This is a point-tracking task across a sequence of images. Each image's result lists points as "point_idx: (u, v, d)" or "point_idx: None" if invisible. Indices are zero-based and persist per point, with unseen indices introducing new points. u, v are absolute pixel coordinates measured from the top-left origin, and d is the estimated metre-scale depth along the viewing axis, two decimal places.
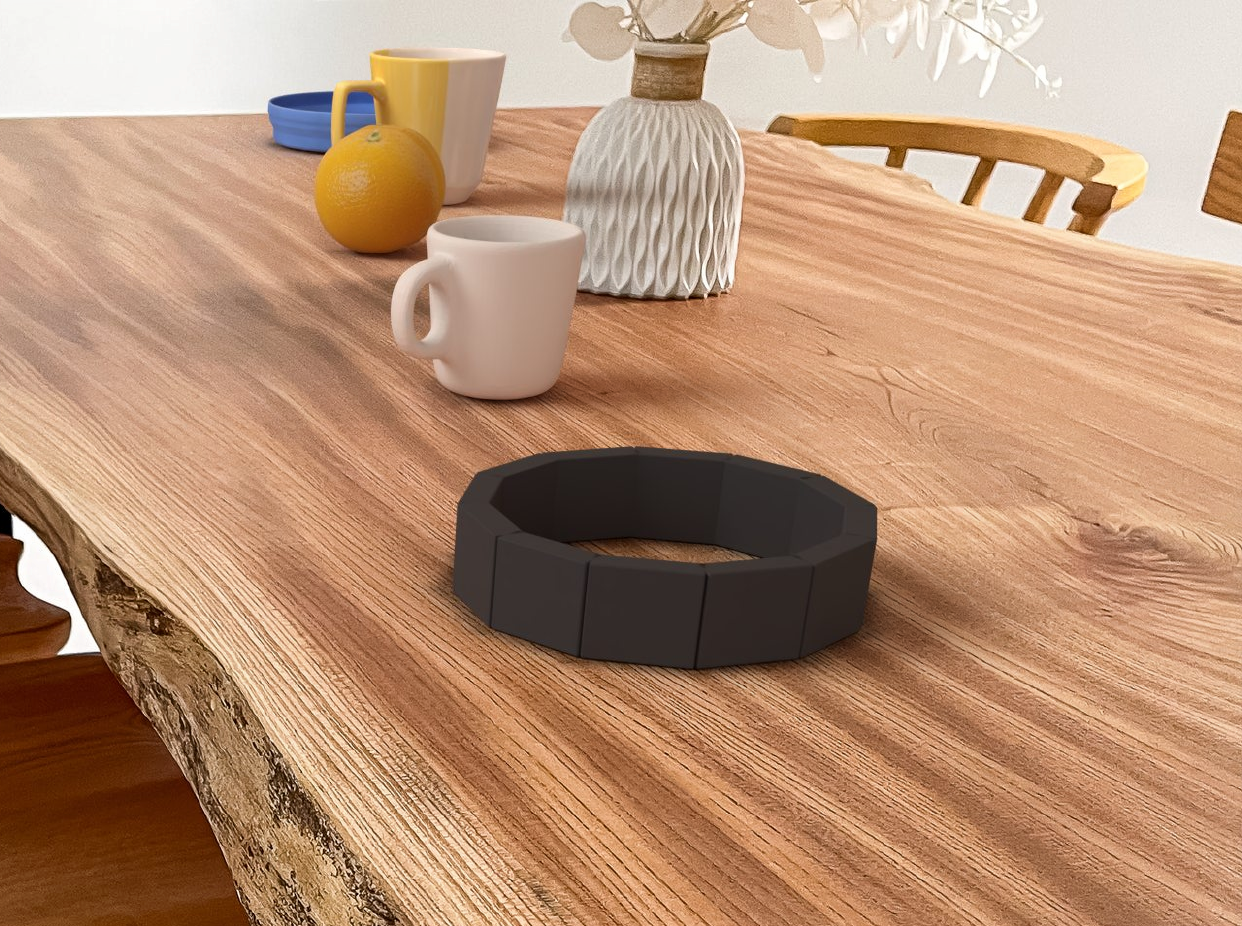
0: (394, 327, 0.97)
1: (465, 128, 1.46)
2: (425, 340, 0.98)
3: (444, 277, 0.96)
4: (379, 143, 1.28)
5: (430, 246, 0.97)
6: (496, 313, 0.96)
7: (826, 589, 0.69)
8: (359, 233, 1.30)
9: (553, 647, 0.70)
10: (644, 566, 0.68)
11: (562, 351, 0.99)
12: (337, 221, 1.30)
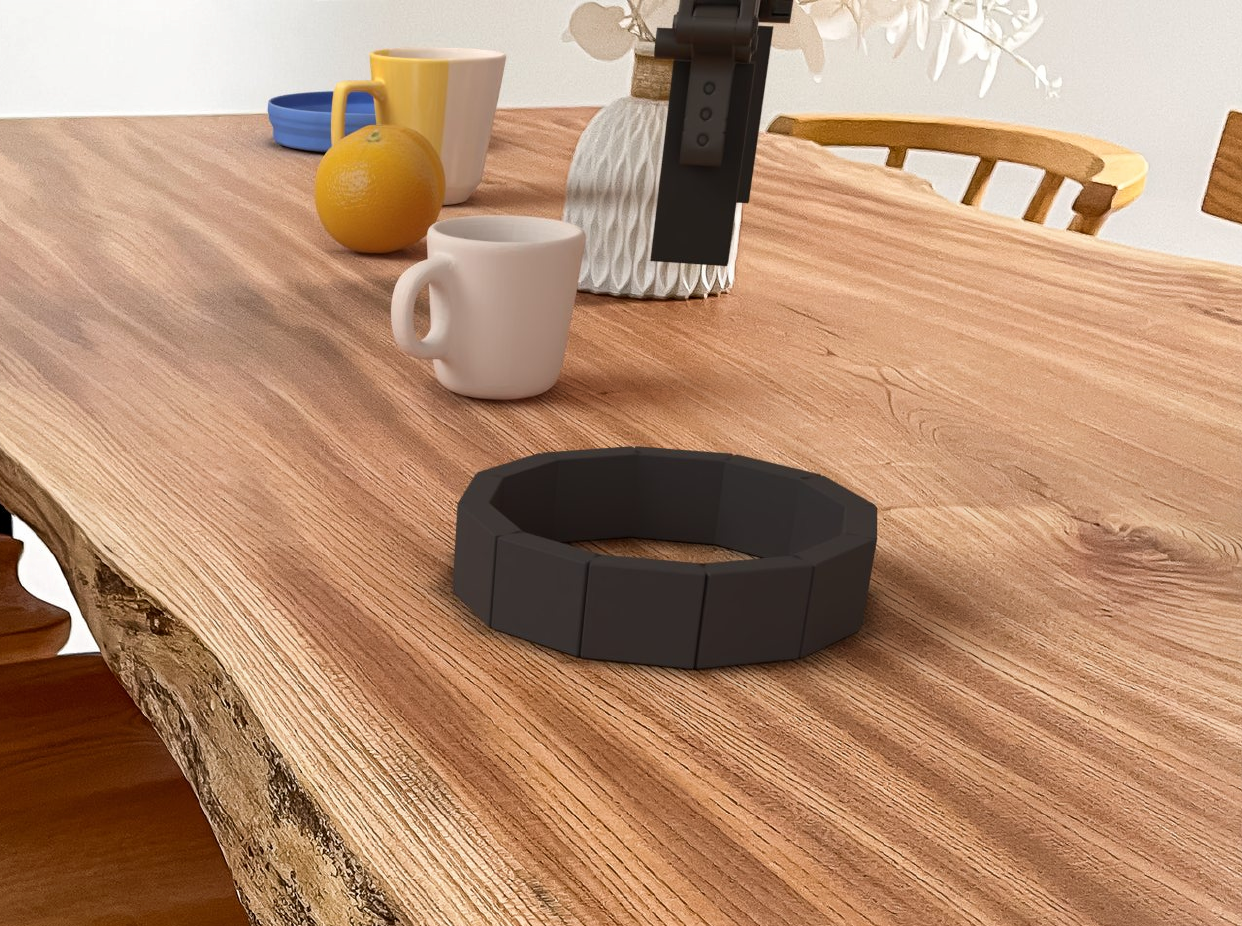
0: (394, 327, 0.97)
1: (465, 128, 1.46)
2: (425, 340, 0.98)
3: (444, 277, 0.96)
4: (379, 143, 1.28)
5: (430, 246, 0.97)
6: (496, 313, 0.96)
7: (826, 589, 0.69)
8: (359, 233, 1.30)
9: (553, 647, 0.70)
10: (644, 566, 0.68)
11: (562, 351, 0.99)
12: (337, 221, 1.30)
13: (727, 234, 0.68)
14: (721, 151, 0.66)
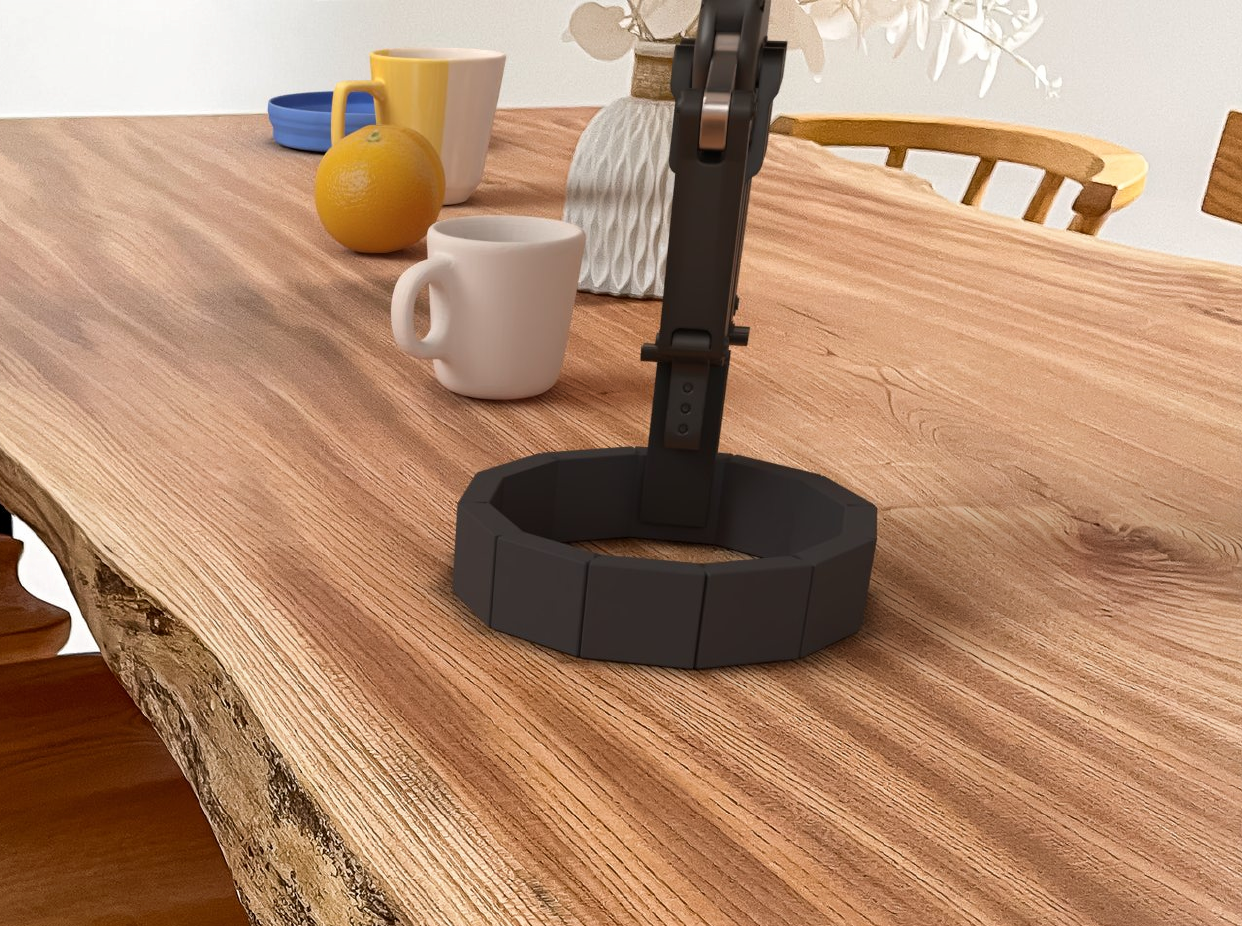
0: (394, 327, 0.97)
1: (465, 128, 1.46)
2: (425, 340, 0.98)
3: (444, 277, 0.96)
4: (379, 143, 1.28)
5: (430, 246, 0.97)
6: (496, 313, 0.96)
7: (826, 588, 0.69)
8: (359, 233, 1.30)
9: (553, 647, 0.70)
10: (644, 566, 0.68)
11: (562, 351, 0.99)
12: (337, 221, 1.30)
13: (706, 501, 0.79)
14: (699, 438, 0.77)
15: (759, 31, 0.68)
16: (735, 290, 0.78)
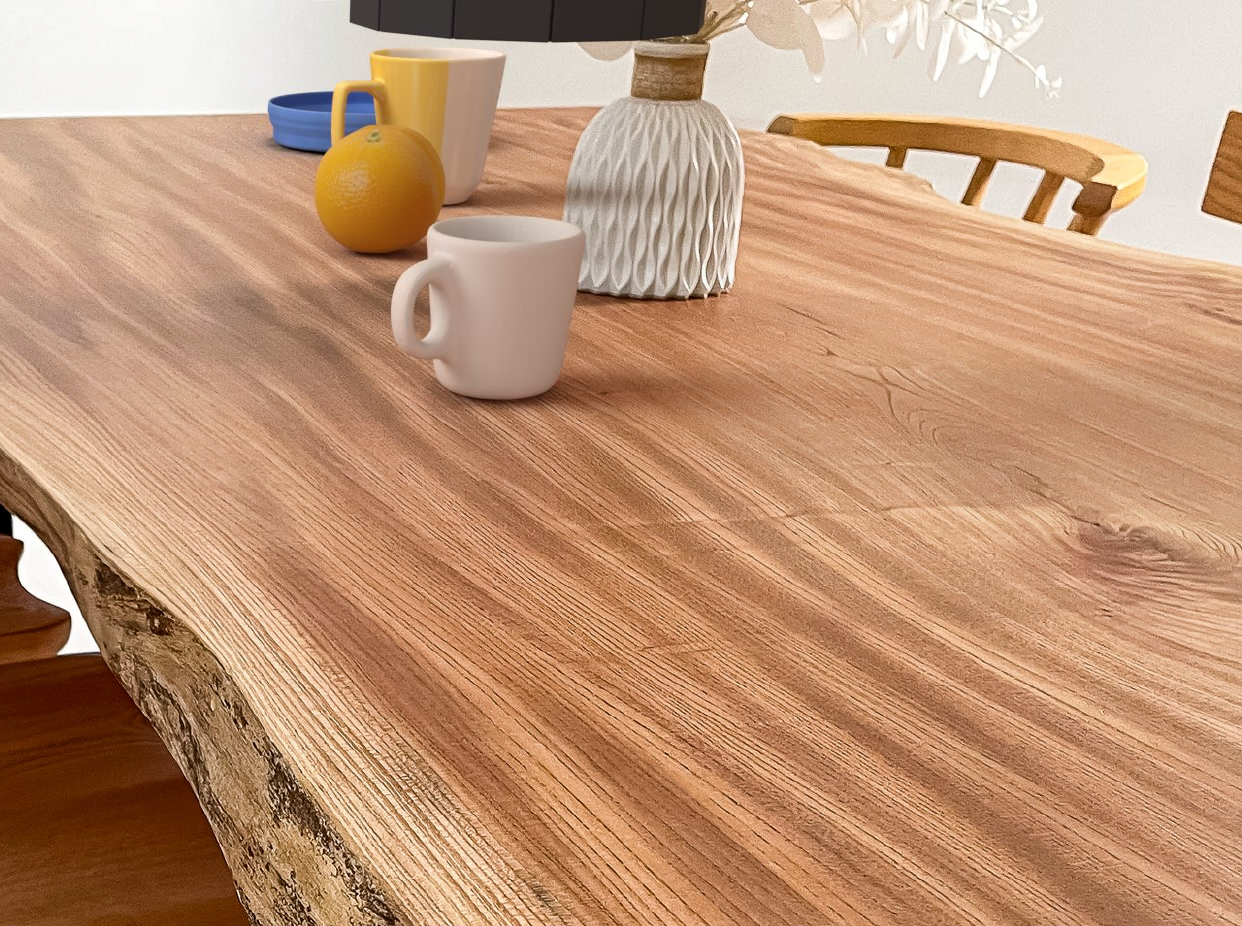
0: (394, 327, 0.97)
1: (465, 128, 1.46)
2: (425, 340, 0.98)
3: (444, 277, 0.96)
4: (379, 143, 1.28)
5: (430, 246, 0.97)
6: (496, 313, 0.96)
7: None
8: (359, 233, 1.30)
9: (431, 35, 0.82)
10: None
11: (562, 351, 0.99)
12: (337, 221, 1.30)
13: None
14: None
15: None
16: None
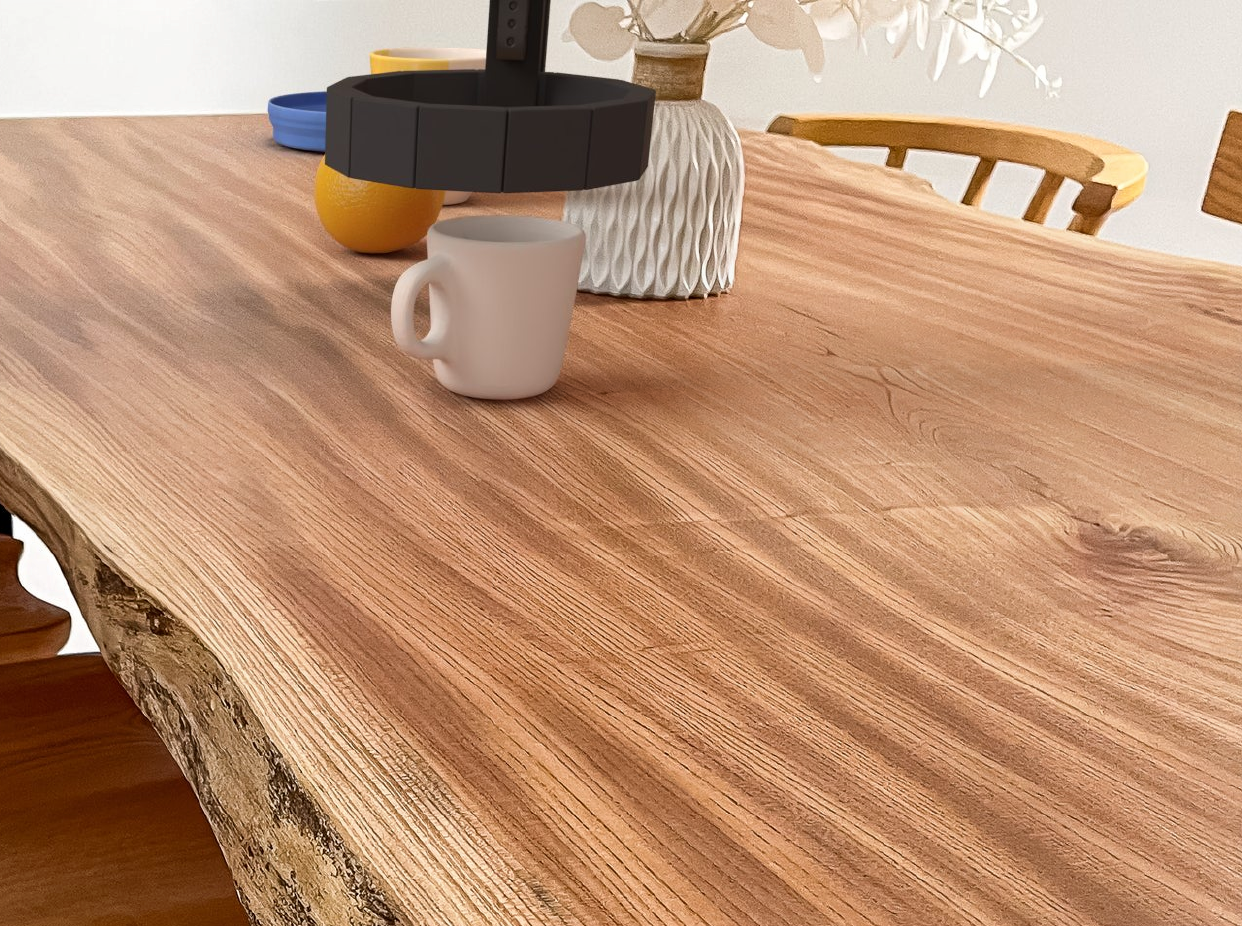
0: (394, 327, 0.97)
1: None
2: (425, 340, 0.98)
3: (444, 277, 0.96)
4: None
5: (430, 246, 0.97)
6: (496, 313, 0.96)
7: (604, 132, 0.89)
8: (359, 233, 1.30)
9: (395, 184, 0.90)
10: (460, 107, 0.88)
11: (562, 351, 0.99)
12: (337, 221, 1.30)
13: None
14: (523, 49, 0.97)
15: None
16: None
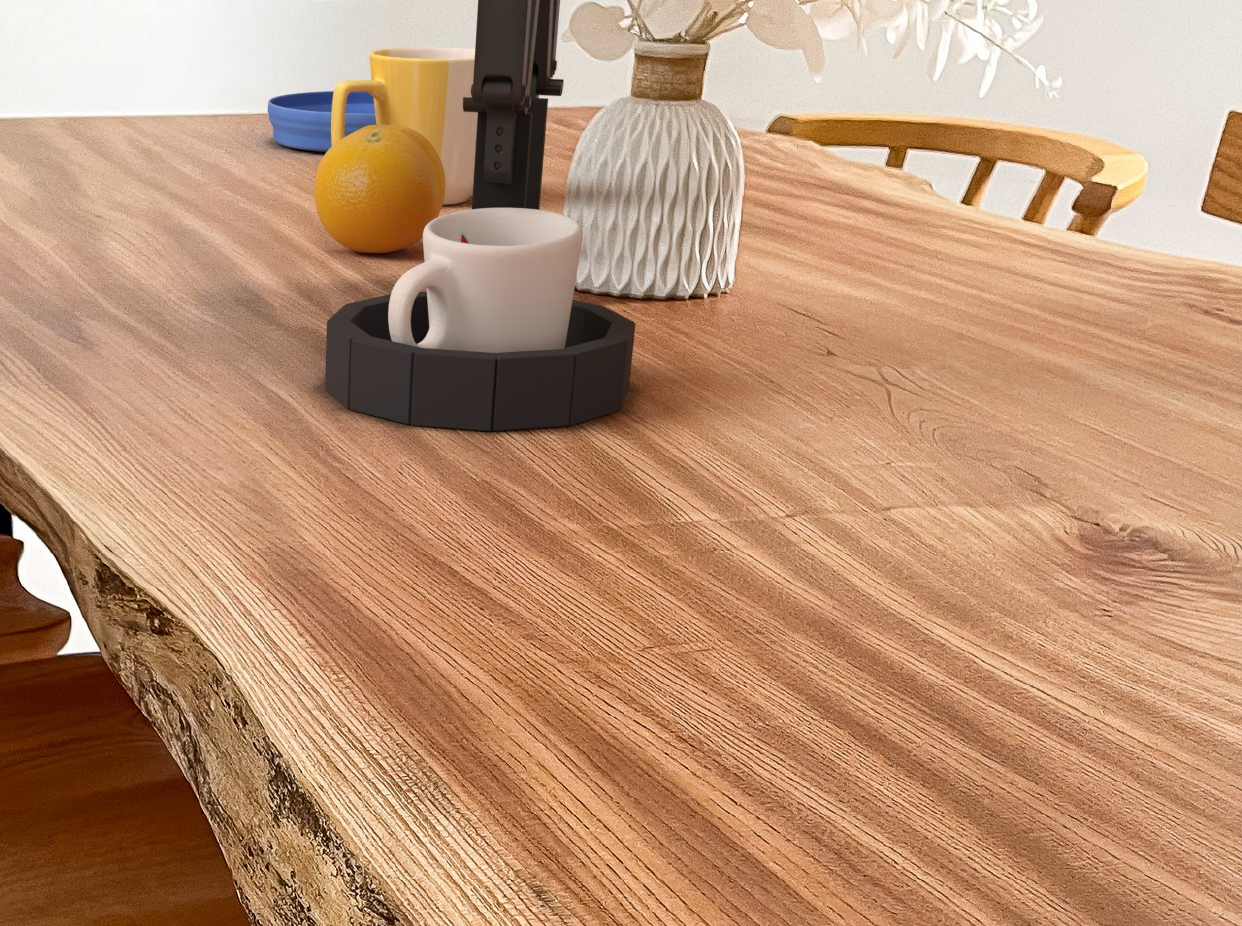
0: (392, 332, 0.97)
1: (465, 128, 1.46)
2: (423, 343, 0.98)
3: (441, 281, 0.96)
4: (379, 143, 1.28)
5: (426, 248, 0.97)
6: (494, 316, 0.96)
7: (587, 373, 0.95)
8: (359, 233, 1.30)
9: (392, 419, 0.97)
10: (453, 354, 0.94)
11: (561, 348, 0.99)
12: (337, 221, 1.30)
13: None
14: (510, 173, 0.98)
15: None
16: (549, 52, 1.02)
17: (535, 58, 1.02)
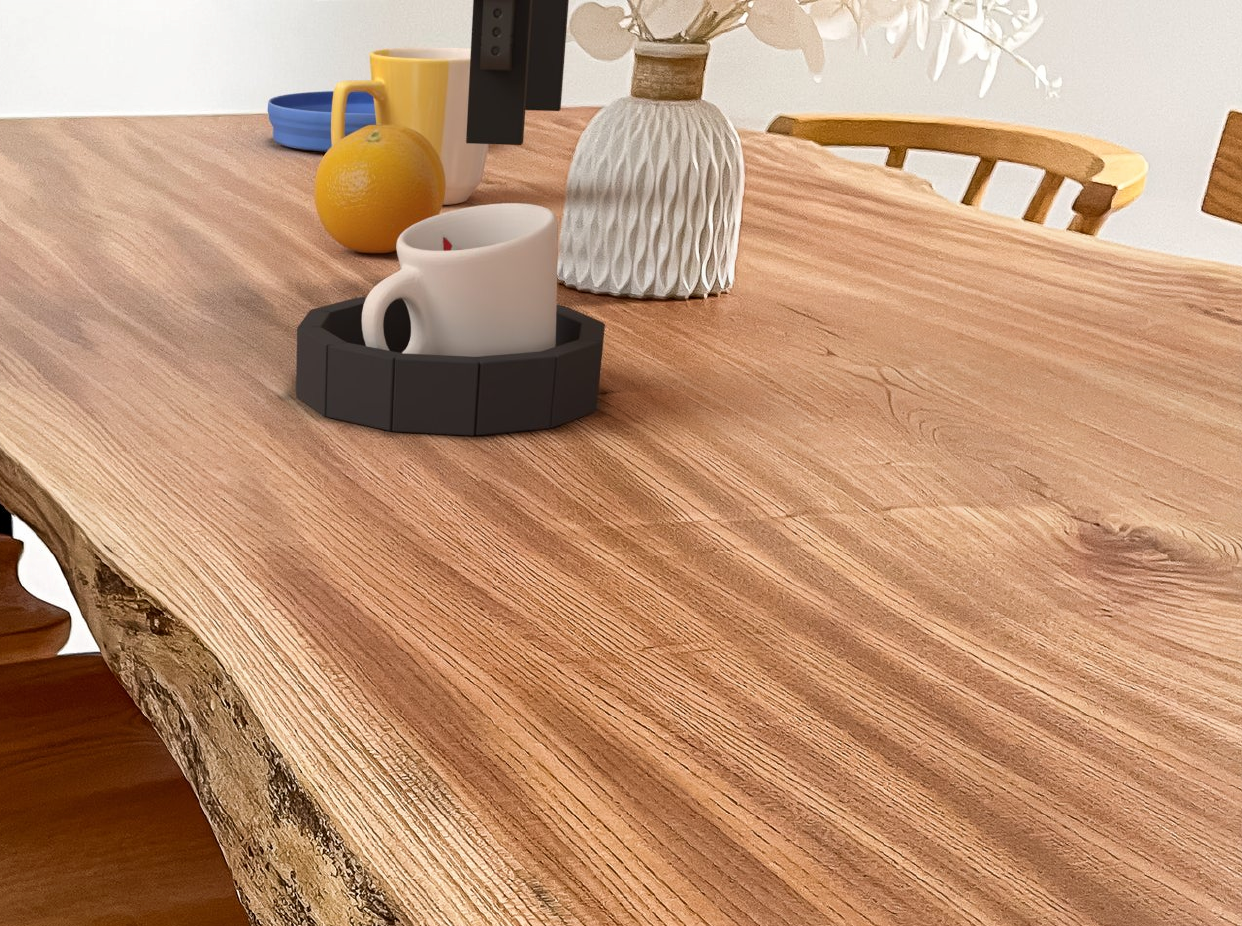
0: None
1: (465, 128, 1.46)
2: None
3: (411, 291, 0.95)
4: (379, 143, 1.28)
5: (398, 257, 0.96)
6: (467, 320, 0.95)
7: (566, 375, 0.95)
8: (359, 233, 1.30)
9: (372, 426, 0.95)
10: (434, 359, 0.93)
11: (548, 342, 0.97)
12: (337, 221, 1.30)
13: (520, 121, 0.94)
14: (509, 58, 0.92)
15: None
16: None
17: None
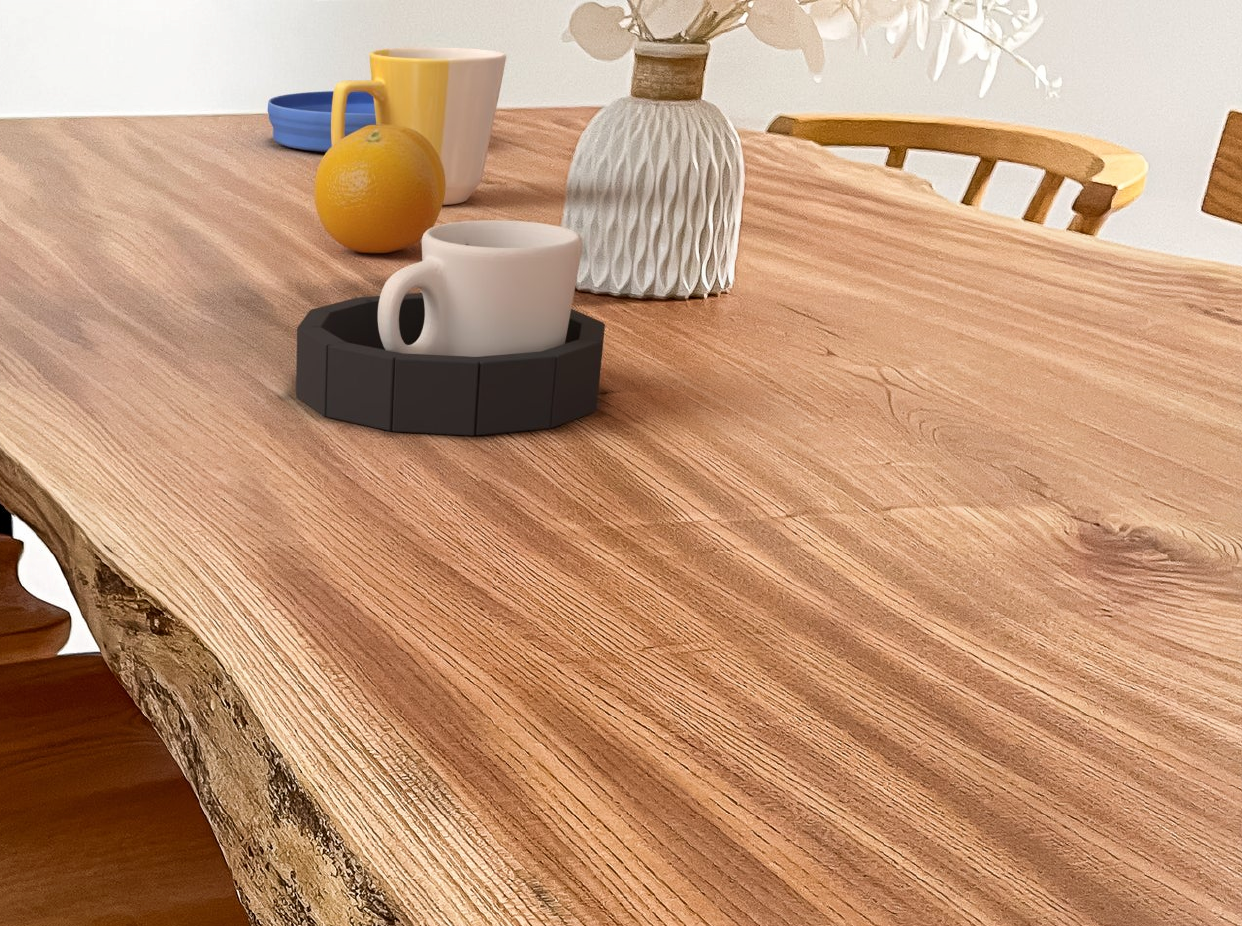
0: (380, 330, 0.96)
1: (465, 128, 1.46)
2: (414, 344, 0.97)
3: (432, 282, 0.95)
4: (379, 143, 1.28)
5: (423, 250, 0.97)
6: (483, 319, 0.95)
7: (566, 375, 0.95)
8: (359, 233, 1.30)
9: (372, 426, 0.95)
10: (434, 359, 0.93)
11: None
12: (337, 221, 1.30)
13: None
14: None
15: None
16: None
17: None
